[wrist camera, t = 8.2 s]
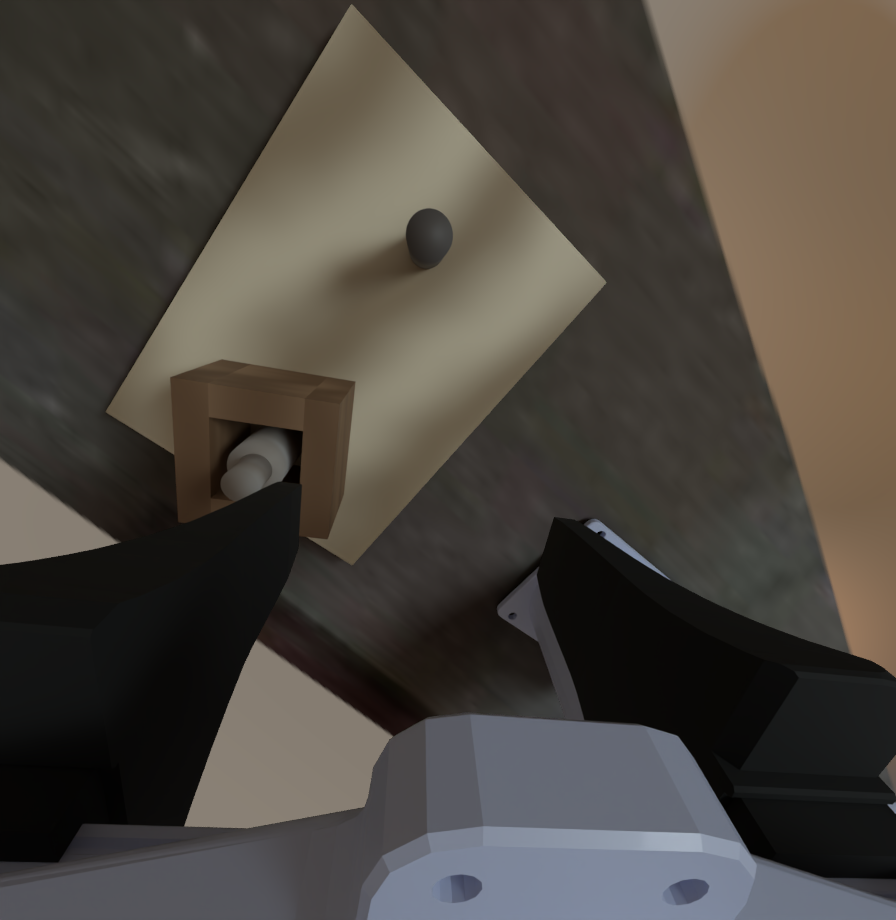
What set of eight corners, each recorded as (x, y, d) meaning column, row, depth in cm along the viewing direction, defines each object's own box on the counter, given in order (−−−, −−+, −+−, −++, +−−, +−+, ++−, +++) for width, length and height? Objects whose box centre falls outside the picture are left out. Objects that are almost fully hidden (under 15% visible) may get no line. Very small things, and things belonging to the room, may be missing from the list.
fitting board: (597, 283, 19) (683, 278, 13) (354, 554, 23) (332, 647, 17) (355, 21, 15) (312, -164, 9) (120, 406, 19) (-16, 459, 13)
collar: (355, 381, 18) (340, 403, 15) (343, 494, 20) (327, 539, 17) (221, 359, 18) (170, 377, 14) (223, 478, 20) (178, 522, 16)
